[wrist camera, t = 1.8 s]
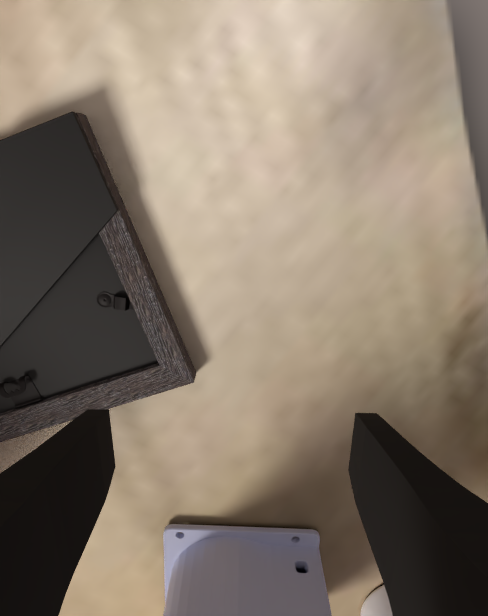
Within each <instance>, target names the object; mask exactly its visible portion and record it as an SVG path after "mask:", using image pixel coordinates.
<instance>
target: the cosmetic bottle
mask: <svg viewBox="0 0 488 616" xmlns="http://www.w3.org/2000/svg"><path fill="white" fill-rule="evenodd" d="M361 616H393V615H392V611H391V607H390V603H389V599H388V595H387V592H386V589H385V586H384V585H382V586H380V587H379V588H377V589H376V590H374V591H373V592H372V593H371V594H370V595H369V596H368V597H367V598H366V600H365V601H364V603H363V605H362V608H361Z"/></svg>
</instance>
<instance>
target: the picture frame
mask: <svg viewBox="0 0 488 616" xmlns="http://www.w3.org/2000/svg"><path fill="white" fill-rule="evenodd" d="M195 376H196V371H195V369H194V366H193V364H192V362H191V359H190V357H189V355H188V352H187V350H186V348H185V345H184V343H183V341H182V338H181V336H180V334H179V331H178V329H177V327H176V324H175V322H174V320H173V317H172V315H171V313H170V311H169V308H168V306H167V304H166V301H165V299H164V297H163V294H162V292H161V290H160V287H159V285H158V283H157V280H156V278H155V276H154V273H153V271H152V269H151V266H150V264H149V262H148V259H147V257H146V255H145V252H144V250H143V248H142V245H141V243H140V241H139V238H138V236H137V234H136V231H135V229H134V227H133V224H132V222H131V220H130V217H129V215H128V213H127V210H126V208H125V206H124V203H123V201H122V199H121V196H120V194H119V192H118V189H117V187H116V185H115V182H114V180H113V178H112V175H111V173H110V171H109V168H108V166H107V164H106V161H105V159H104V157H103V154H102V152H101V150H100V147H99V145H98V143H97V140H96V138H95V136H94V133H93V131H92V129H91V126H90V124H89V122H88V120H87V117H86V115H84V114H80V113H75V112H70V113H68V114H65V115H63V116H60V117H58V118H55V119H53V120H50V121H48V122H45V123H43V124H40V125H38V126H35V127H33V128H30V129H28V130H25V131H23V132H20V133H18V134H15V135H13V136H10V137H8V138H5V139H3V140H0V442H2V441H5V440H9V439H12V438H15V437H18V436H22V435H25V434H28V433H31V432H35V431H38V430H41V429H44V428H48V427H51V426H54V425H57V424H61V423H64V422H67V421H70V420H74V419H75V418H77V417H78V416H79V415H81V414H82V413H83V412H85V411H86V410H88V409H109V408H112V407H116V406H119V405H122V404H125V403H129V402H132V401H135V400H138V399H142V398H145V397H148V396H151V395H155V394H158V393H161V392H164V391H168V390H171V389H174V388H177V387H181V386H184V385H187V384H190V383H194V380H195Z"/></svg>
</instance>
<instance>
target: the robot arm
mask: <svg viewBox="0 0 488 616" xmlns="http://www.w3.org/2000/svg"><path fill="white" fill-rule="evenodd" d="M114 469H115V459H114V450H113V442H112V433H111V424H110V416H109V410H107V409H88V410H86V411H85V412H83V413H82V414H81V415H79V416H78V417H77V418H75V419H74V420H73V421H71V422H70V423H69V424H68V425H66V426H65V427H64V428H62V429H61V430H60V431H59V432H57V433H56V434H55V435H53V436H52V437H51V438H49V439H48V440H47V441H45V442H44V443H43V444H42V445H40V446H39V447H38V448H36V449H35V450H34V451H32V452H31V453H29V454H28V455H26V456H25V457H23V458H22V459H21V460H19V461H18V462H16V463H15V464H13V465H12V466H11V467H9V468H8V469H6V470H5V471H3V472H2V473H0V616H58V615H59V612H60V609H61V606H62V603H63V600H64V597H65V594H66V591H67V589H68V586H69V584H70V581H71V579H72V576H73V574H74V571H75V569H76V567H77V565H78V562H79V560H80V558H81V556H82V553H83V551H84V549H85V546H86V544H87V542H88V540H89V537H90V535H91V533H92V530H93V528H94V526H95V524H96V521H97V519H98V517H99V514H100V512H101V510H102V507H103V505H104V502H105V500H106V497H107V494H108V490H109V487H110V484H111V480H112V477H113V473H114ZM349 475H350V479H351V484H352V489H353V493H354V498H355V502H356V505H357V508H358V511H359V514H360V517H361V520H362V523H363V526H364V529H365V531H366V534H367V537H368V540H369V543H370V546H371V548H372V551H373V554H374V557H375V560H376V562H377V565H378V568H379V571H380V574H381V577H382V579H383V583H384V586H385V589H386V592H387V595H388V599H389V603H390V607H391V611H392V615H393V616H488V503H487V502H485V501H484V500H482V499H481V498H479V497H478V496H476V495H475V494H473V493H472V492H470V491H469V490H467V489H466V488H465V487H463V486H462V485H460V484H459V483H458V482H456V481H455V480H454V479H453V478H451V477H450V476H449V475H447V474H446V473H445V472H443V471H442V470H441V469H440V468H438V467H437V466H436V465H435V464H433V463H432V462H431V461H430V460H429V459H427V458H426V457H425V456H424V455H423V454H421V453H420V452H419V451H418V450H417V449H416V448H415V447H413V446H412V445H411V444H410V443H409V442H408V441H407V440H406V439H404V438H403V437H402V436H401V435H400V434H399V433H398V432H397V431H396V430H395V429H393V428H392V427H391V426H390V425H389V424H388V423H387V422H386V421H385V420H384V419H382V418H381V417H380V416H379V415H378V414H377V413H355V421H354V429H353V437H352V446H351V454H350V462H349ZM178 532H182V533H178ZM163 535H164V575H165V609H164V614H163V616H332V615H331V609H330V604H329V599H328V593H327V588H326V583H325V577H324V572H323V567H322V561H321V556H320V551H319V544H320V536H319V533H318V531H316V530H313V529H292V528H265V527H239V526H213V525H187V524H169V525H167V526H166V527H165V530H164V534H163ZM295 536H296V537H295ZM294 537H295V538H294Z"/></svg>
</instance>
